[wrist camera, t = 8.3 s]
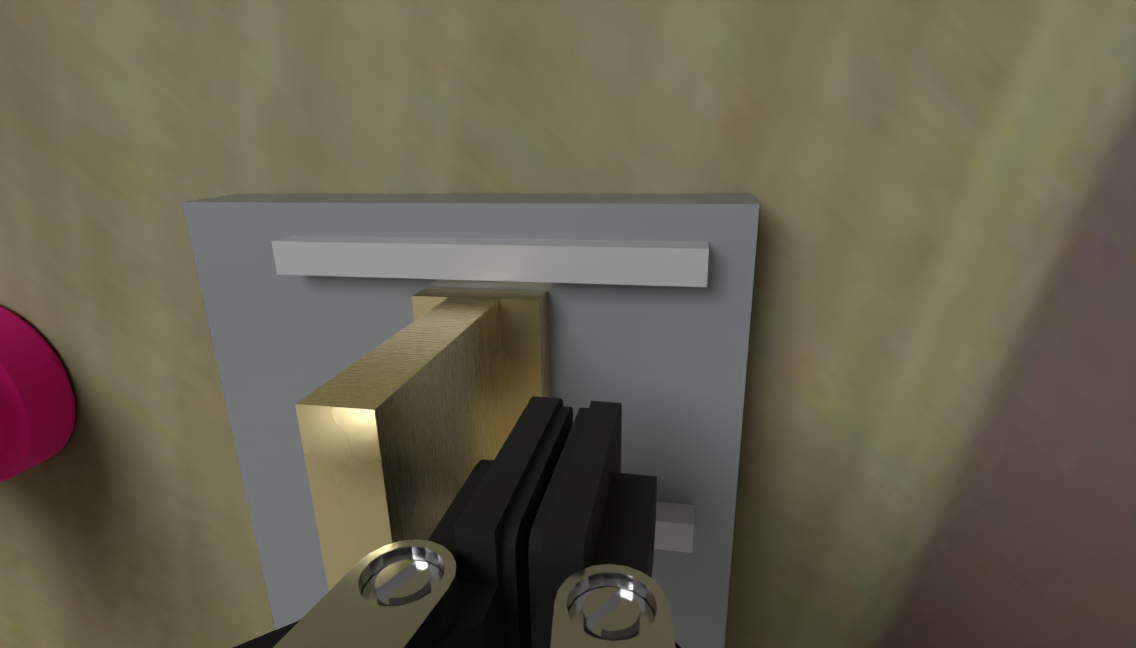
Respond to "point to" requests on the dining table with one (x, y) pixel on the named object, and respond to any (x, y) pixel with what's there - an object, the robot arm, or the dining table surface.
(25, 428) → the pepper mill
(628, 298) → the control panel
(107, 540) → the dining table surface
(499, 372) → the brass paddle
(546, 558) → the robot arm
